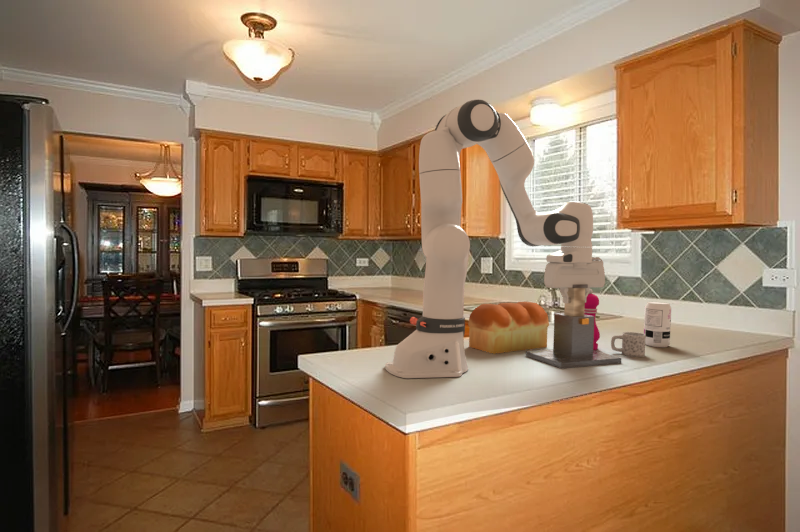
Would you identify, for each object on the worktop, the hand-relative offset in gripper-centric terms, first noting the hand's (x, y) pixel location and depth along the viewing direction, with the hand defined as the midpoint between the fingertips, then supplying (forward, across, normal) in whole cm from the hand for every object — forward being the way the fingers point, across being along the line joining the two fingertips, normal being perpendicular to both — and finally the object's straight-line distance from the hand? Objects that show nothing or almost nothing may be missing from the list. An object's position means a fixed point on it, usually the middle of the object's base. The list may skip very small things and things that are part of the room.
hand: (574, 302), depth 148 cm
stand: (+17, 0, 0) cm, 17 cm away
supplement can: (+17, -45, -9) cm, 49 cm away
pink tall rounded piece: (+17, -17, -12) cm, 27 cm away
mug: (+17, -23, -1) cm, 29 cm away
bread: (+18, +8, -22) cm, 29 cm away
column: (+15, 0, 0) cm, 15 cm away
